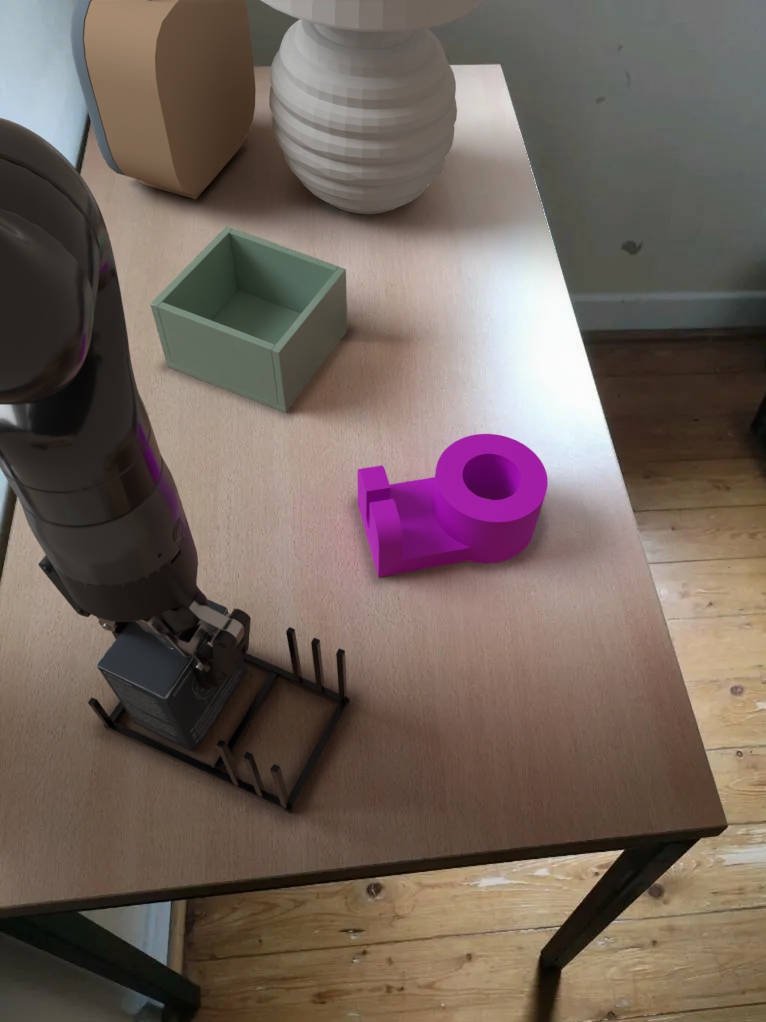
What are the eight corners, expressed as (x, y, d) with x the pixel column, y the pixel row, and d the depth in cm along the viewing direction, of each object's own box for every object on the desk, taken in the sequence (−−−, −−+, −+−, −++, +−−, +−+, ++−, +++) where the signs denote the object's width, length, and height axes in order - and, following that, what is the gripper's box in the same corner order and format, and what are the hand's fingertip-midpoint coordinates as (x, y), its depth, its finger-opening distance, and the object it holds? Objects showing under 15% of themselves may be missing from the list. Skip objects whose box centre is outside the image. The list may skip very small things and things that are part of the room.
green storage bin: (167, 366, 82) (149, 303, 75) (236, 289, 89) (226, 225, 82) (286, 413, 80) (278, 352, 73) (347, 330, 87) (346, 268, 80)
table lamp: (252, 246, 93) (185, -241, 59) (269, 124, 106) (223, -334, 71) (469, 258, 95) (527, -203, 61) (460, 137, 108) (504, -299, 74)
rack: (105, 728, 62) (68, 679, 54) (177, 626, 67) (153, 567, 59) (290, 814, 60) (279, 774, 52) (350, 702, 65) (348, 651, 57)
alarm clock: (193, 115, 105) (156, -91, 87) (261, 133, 104) (238, -70, 86) (111, 201, 95) (49, -13, 76) (185, 222, 94) (141, 12, 75)
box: (189, 644, 66) (162, 575, 57) (249, 672, 65) (231, 607, 56) (131, 724, 62) (92, 664, 53) (194, 755, 62) (165, 699, 52)
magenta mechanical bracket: (516, 471, 79) (527, 426, 74) (549, 552, 74) (563, 511, 69) (356, 497, 76) (355, 452, 70) (380, 584, 71) (381, 543, 66)
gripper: (-45, 526, 43) (58, 665, 57) (191, 628, 41) (236, 745, 56) (45, 432, 47) (120, 585, 61) (264, 522, 45) (289, 658, 59)
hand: (175, 661), depth 58 cm, fingers closed on box, 5 cm apart
